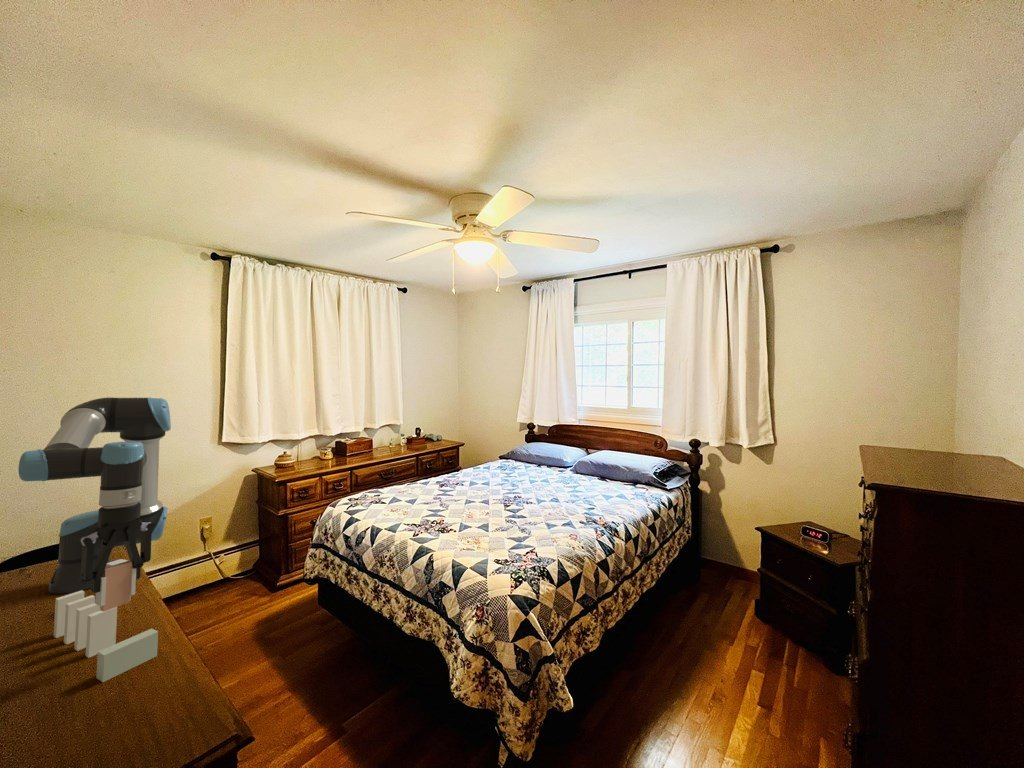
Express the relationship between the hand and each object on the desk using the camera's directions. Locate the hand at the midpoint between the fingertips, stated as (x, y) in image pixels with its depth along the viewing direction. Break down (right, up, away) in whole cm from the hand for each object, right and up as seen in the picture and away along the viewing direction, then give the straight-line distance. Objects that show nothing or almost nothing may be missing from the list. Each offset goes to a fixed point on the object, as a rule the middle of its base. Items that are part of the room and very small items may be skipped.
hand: (115, 598), depth 97 cm
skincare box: (-25, -15, +25) cm, 39 cm away
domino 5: (-6, -14, +2) cm, 16 cm away
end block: (+6, -14, -3) cm, 16 cm away
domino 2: (-17, -14, +7) cm, 23 cm away
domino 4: (0, -2, 0) cm, 2 cm away
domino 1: (-22, -14, +9) cm, 28 cm away
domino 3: (-11, -14, +4) cm, 19 cm away
